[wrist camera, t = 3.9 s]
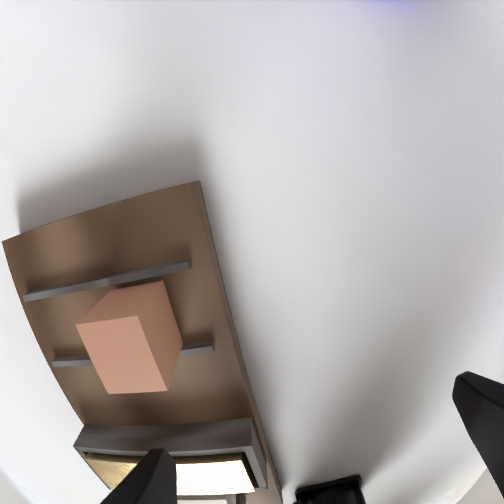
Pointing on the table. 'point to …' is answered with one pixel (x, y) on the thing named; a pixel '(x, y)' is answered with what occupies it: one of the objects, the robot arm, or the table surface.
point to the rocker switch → (204, 499)
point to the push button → (185, 472)
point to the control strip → (186, 315)
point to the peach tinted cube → (133, 339)
